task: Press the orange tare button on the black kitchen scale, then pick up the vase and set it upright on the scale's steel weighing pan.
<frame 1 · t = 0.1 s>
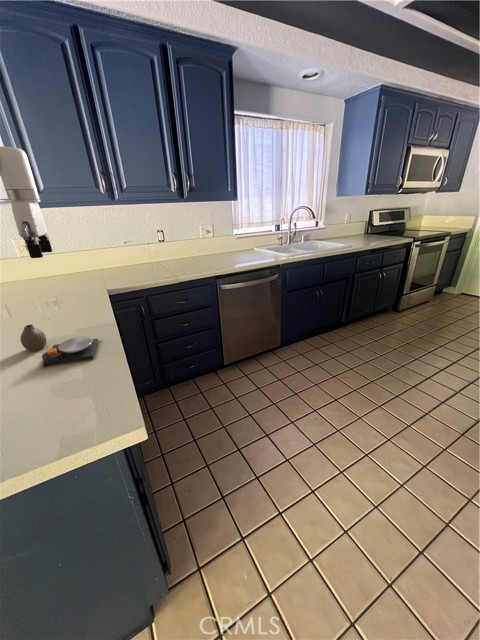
hand: (42, 254, 86), 31 cm above the worktop, tool pointing down, fingers open, 9 cm apart
vase: (37, 348, 93), on the worktop
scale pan: (75, 344, 89), on the scale, point 3 cm above the worktop
scale: (73, 353, 90), on the worktop
tare button: (52, 352, 84), point 3 cm above the worktop, slide at 0.1 cm
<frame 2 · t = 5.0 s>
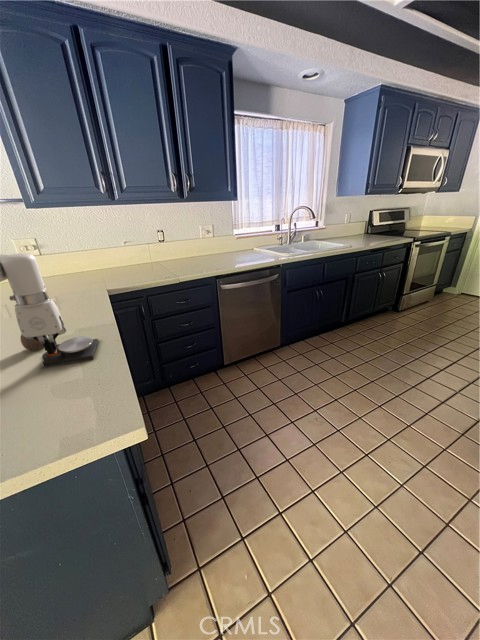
hand: (52, 351, 84), 4 cm above the worktop, tool pointing down, fingers closed
tare button: (52, 354, 84), point 3 cm above the worktop, slide at -0.5 cm, touching gripper
everything else where it was.
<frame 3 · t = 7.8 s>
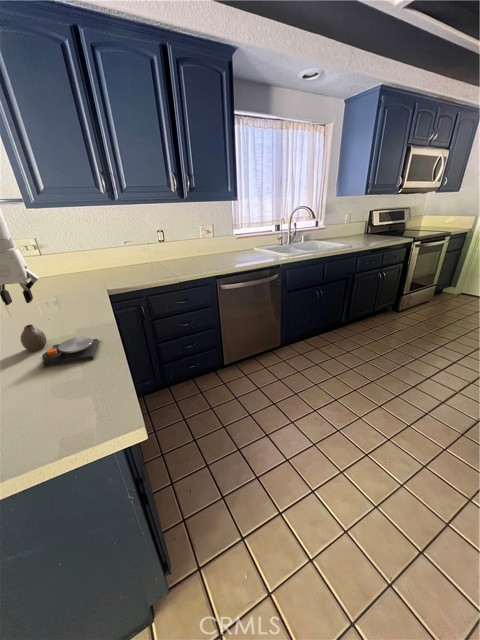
hand: (19, 302, 86), 17 cm above the worktop, tool pointing down, fingers open, 4 cm apart
tare button: (52, 352, 84), point 3 cm above the worktop, slide at 0.1 cm
everything else where it was.
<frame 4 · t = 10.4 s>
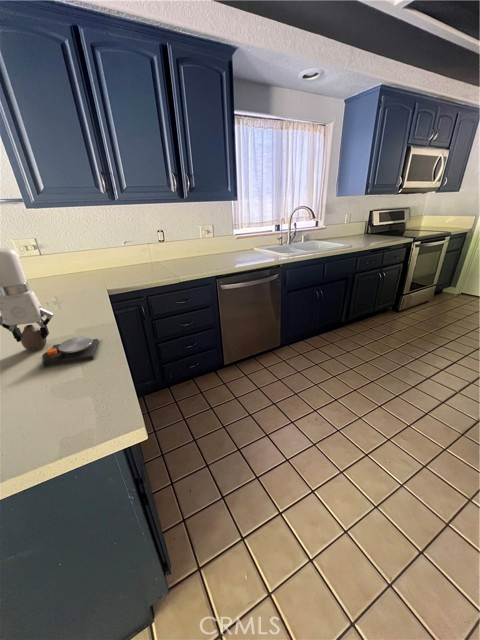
hand: (33, 337, 91), 4 cm above the worktop, tool pointing down, fingers closed on vase, 6 cm apart
vase: (37, 348, 93), on the worktop, touching gripper
everything else where it was.
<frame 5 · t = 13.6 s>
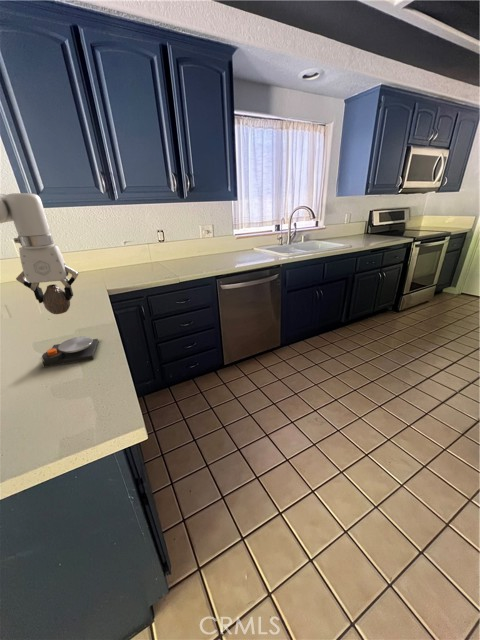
hand: (56, 299, 82), 19 cm above the worktop, tool pointing down, fingers closed on vase, 6 cm apart
vase: (60, 312, 84), point 15 cm above the worktop, touching gripper
everything else where it was.
when the fingers open (8 cm above the worktop, at t = 16.8 s): vase stays where it is, resting on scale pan.
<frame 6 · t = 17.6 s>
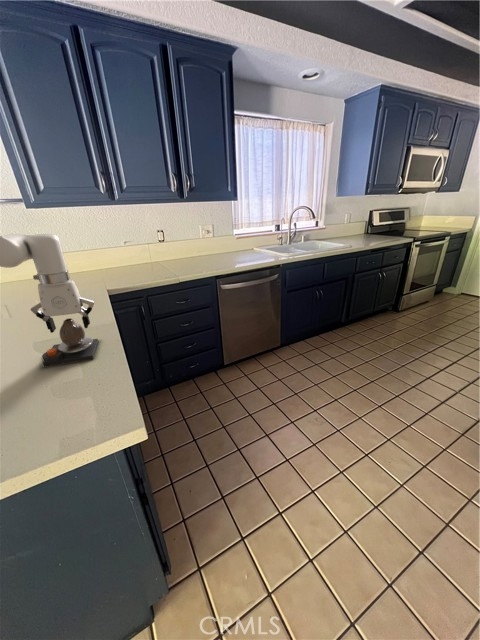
hand: (70, 328, 86), 9 cm above the worktop, tool pointing down, fingers open, 9 cm apart
vase: (75, 344, 89), point 3 cm above the worktop, touching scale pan
everything else where it was.
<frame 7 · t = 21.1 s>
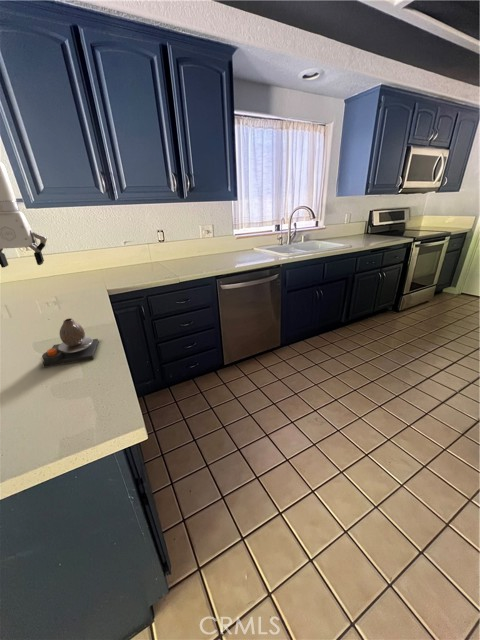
hand: (23, 265, 85), 28 cm above the worktop, tool pointing down, fingers open, 9 cm apart
nothing on the worktop moved.
at the end: tare button pushed in 0.9 cm at the most during the clip, back to where it started at the end; vase 0.1 cm from the target spot on the scale, point 3.4 cm above the scale's base; vase tilted 0° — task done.
